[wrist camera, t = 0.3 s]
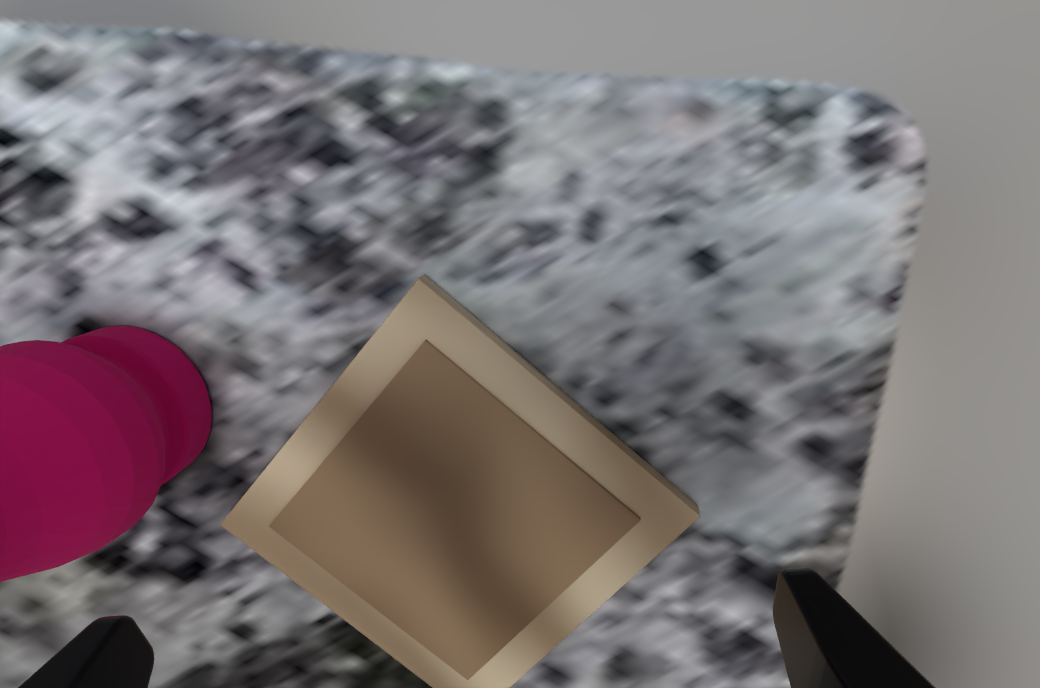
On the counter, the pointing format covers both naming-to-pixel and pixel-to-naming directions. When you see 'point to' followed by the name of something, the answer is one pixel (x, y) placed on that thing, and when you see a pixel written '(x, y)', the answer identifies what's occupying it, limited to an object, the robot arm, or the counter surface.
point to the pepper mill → (90, 440)
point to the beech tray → (456, 501)
